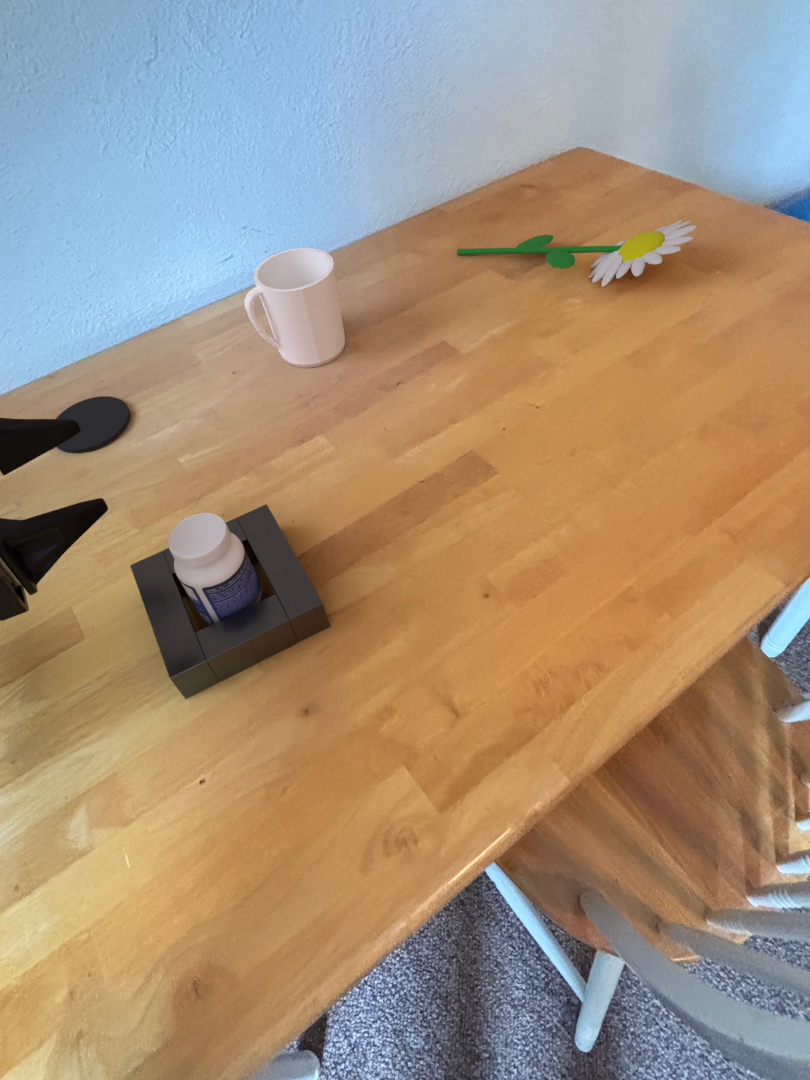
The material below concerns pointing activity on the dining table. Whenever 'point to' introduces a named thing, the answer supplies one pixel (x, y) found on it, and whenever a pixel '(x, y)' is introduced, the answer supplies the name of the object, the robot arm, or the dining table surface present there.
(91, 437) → the coaster
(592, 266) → the decorative flower
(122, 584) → the dining table surface
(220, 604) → the pill bottle
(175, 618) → the stand
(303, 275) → the mug
